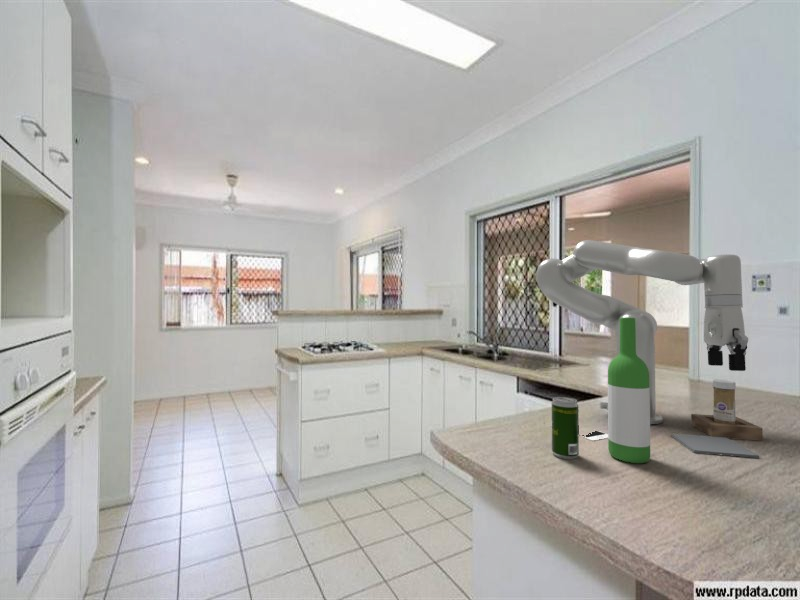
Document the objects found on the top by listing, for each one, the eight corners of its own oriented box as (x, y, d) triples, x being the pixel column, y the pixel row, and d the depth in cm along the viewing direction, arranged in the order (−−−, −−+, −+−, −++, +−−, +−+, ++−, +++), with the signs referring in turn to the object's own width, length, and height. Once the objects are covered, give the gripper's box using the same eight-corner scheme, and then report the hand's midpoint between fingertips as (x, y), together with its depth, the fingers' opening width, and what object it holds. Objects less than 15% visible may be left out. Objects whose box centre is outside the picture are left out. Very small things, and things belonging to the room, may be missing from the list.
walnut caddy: (712, 436, 95) (711, 424, 95) (691, 424, 105) (691, 413, 105) (762, 440, 93) (762, 428, 93) (736, 427, 103) (736, 416, 103)
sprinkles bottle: (713, 432, 99) (712, 380, 99) (713, 428, 102) (712, 378, 103) (736, 436, 96) (735, 382, 96) (736, 432, 99) (735, 380, 100)
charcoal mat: (694, 452, 84) (694, 450, 84) (670, 435, 96) (670, 433, 96) (759, 458, 81) (759, 455, 81) (726, 440, 93) (726, 437, 93)
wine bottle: (611, 461, 79) (609, 317, 80) (605, 449, 86) (604, 317, 87) (654, 467, 76) (653, 318, 77) (645, 454, 84) (644, 317, 84)
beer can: (584, 457, 81) (583, 401, 82) (566, 461, 79) (566, 403, 79) (563, 449, 86) (563, 395, 87) (546, 452, 84) (546, 398, 84)
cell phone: (592, 443, 92) (593, 440, 92) (542, 424, 106) (542, 422, 106) (614, 438, 95) (614, 436, 95) (563, 421, 109) (563, 419, 109)
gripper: (690, 303, 109) (692, 363, 108) (725, 301, 92) (728, 372, 92) (721, 303, 107) (723, 364, 107) (762, 301, 90) (765, 373, 90)
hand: (725, 367), depth 99 cm, fingers open, 9 cm apart
